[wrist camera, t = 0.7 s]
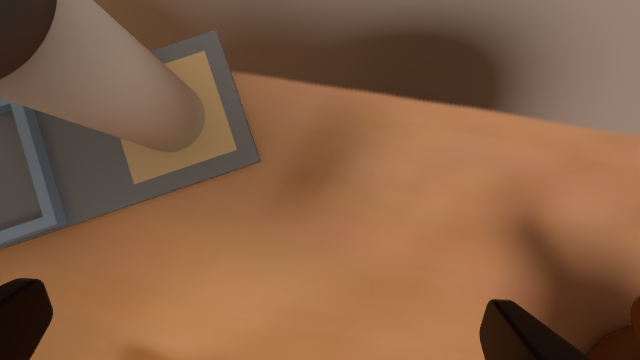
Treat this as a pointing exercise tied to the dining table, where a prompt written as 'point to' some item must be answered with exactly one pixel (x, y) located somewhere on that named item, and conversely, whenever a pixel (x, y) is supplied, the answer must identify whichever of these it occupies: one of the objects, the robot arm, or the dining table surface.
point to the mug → (621, 341)
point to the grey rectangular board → (116, 152)
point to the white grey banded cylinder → (93, 74)
